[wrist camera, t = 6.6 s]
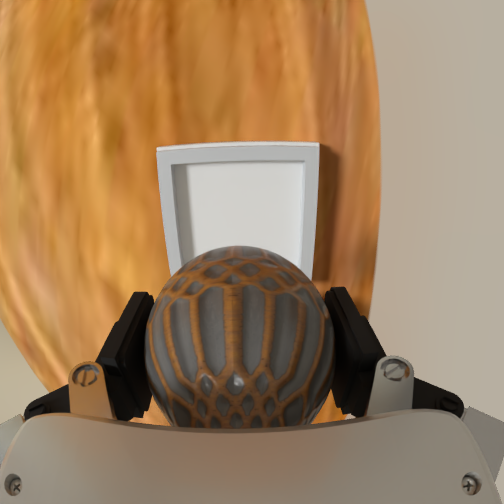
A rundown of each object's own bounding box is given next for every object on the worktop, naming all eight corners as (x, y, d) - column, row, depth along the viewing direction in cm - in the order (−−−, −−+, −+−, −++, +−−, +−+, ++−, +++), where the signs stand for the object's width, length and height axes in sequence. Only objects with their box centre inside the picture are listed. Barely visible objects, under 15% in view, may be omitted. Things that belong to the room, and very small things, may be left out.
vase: (183, 349, 15) (157, 498, 7) (153, 231, 12) (54, 390, 4) (310, 339, 15) (349, 489, 7) (313, 216, 12) (412, 374, 4)
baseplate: (160, 146, 21) (152, 149, 19) (315, 141, 21) (322, 143, 19) (176, 281, 26) (171, 294, 24) (308, 277, 26) (313, 290, 24)
